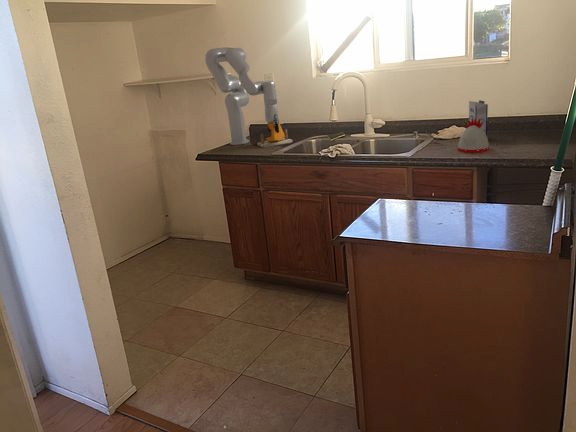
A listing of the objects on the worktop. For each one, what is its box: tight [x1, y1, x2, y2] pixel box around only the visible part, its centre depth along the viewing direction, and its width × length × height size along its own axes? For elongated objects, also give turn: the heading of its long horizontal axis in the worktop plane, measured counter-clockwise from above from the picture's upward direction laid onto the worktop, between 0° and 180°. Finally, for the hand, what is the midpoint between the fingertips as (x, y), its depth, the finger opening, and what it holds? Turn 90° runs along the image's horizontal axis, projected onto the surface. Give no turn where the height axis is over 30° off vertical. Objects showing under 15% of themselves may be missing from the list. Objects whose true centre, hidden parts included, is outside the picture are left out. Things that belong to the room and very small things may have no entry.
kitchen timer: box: [457, 118, 490, 154], centre depth 231 cm, size 14×14×15 cm
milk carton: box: [468, 99, 489, 137], centre depth 252 cm, size 7×7×20 cm
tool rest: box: [257, 128, 293, 148], centre depth 299 cm, size 10×19×8 cm, turn 115°
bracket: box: [265, 120, 285, 142], centre depth 297 cm, size 11×7×12 cm, turn 146°
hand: (273, 131), depth 298 cm, fingers open, 7 cm apart
